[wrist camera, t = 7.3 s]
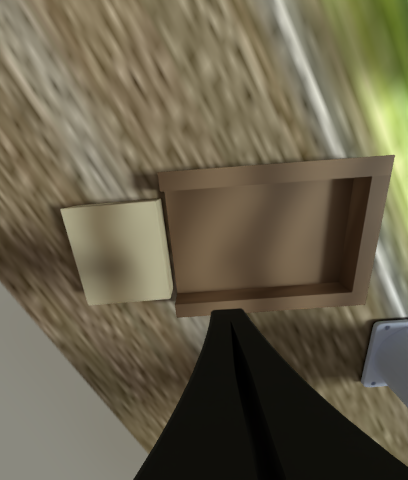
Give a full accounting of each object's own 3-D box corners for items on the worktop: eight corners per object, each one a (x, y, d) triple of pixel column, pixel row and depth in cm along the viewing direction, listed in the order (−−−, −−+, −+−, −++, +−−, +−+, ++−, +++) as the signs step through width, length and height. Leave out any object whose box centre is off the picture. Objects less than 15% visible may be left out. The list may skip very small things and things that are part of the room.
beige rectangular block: (162, 197, 16) (155, 201, 13) (174, 283, 18) (170, 298, 16) (80, 204, 16) (60, 208, 13) (102, 289, 18) (88, 305, 16)
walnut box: (366, 158, 15) (394, 154, 12) (345, 289, 18) (365, 304, 16) (163, 173, 15) (157, 172, 12) (179, 301, 18) (176, 317, 16)
